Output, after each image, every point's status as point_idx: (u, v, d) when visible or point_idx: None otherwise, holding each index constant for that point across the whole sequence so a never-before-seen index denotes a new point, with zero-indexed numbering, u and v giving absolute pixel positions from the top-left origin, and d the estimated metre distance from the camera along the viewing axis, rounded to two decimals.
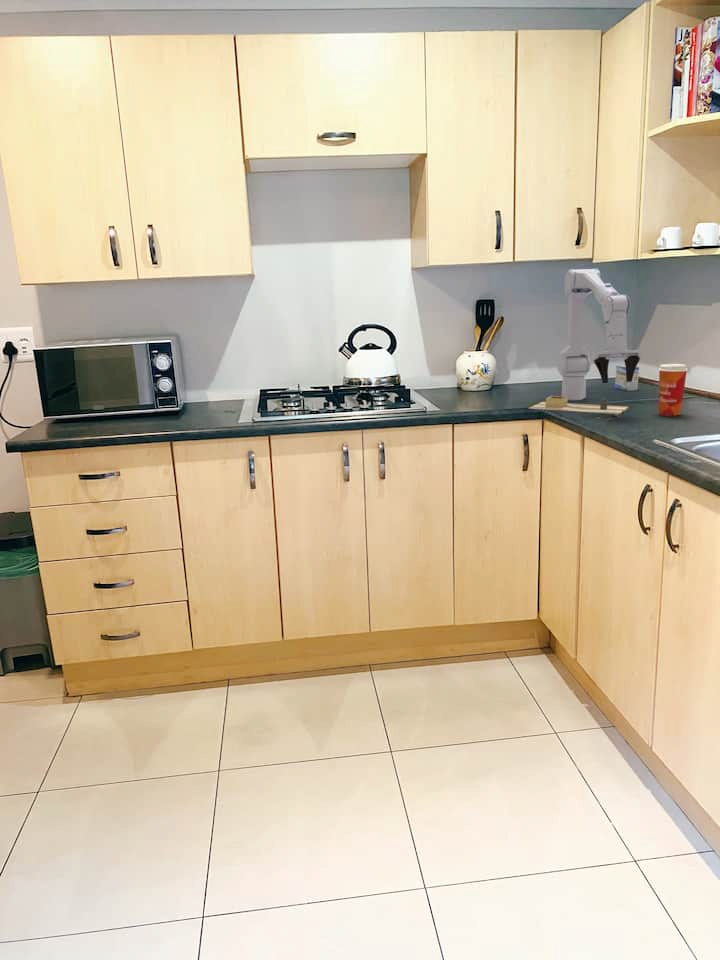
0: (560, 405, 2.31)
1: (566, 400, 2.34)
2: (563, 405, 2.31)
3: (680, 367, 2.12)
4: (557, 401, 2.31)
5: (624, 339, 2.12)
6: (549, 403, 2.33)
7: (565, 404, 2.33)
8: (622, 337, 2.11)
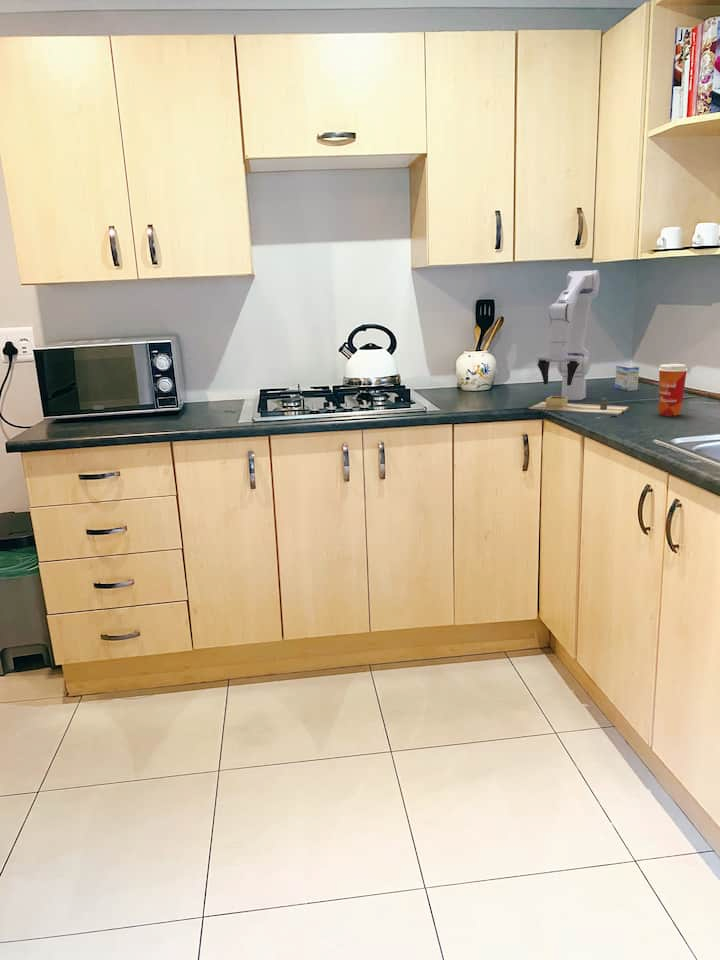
0: (560, 405, 2.31)
1: (566, 400, 2.34)
2: (563, 405, 2.31)
3: (680, 367, 2.12)
4: (557, 401, 2.31)
5: (560, 346, 2.27)
6: (549, 403, 2.33)
7: (565, 404, 2.33)
8: (557, 344, 2.27)
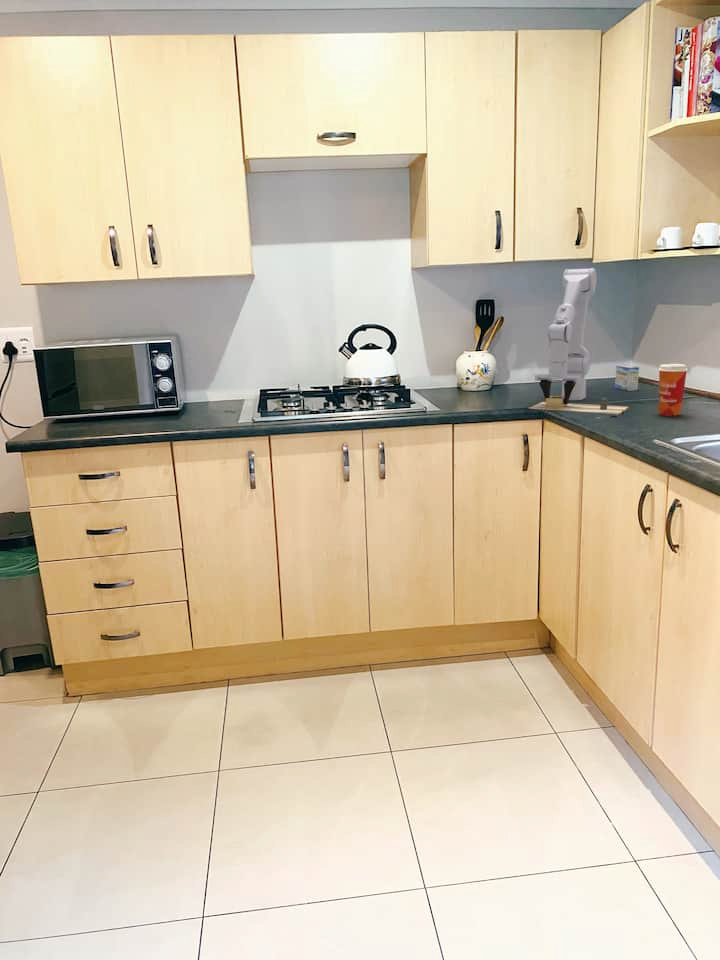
0: (560, 405, 2.31)
1: None
2: (563, 405, 2.31)
3: (680, 367, 2.12)
4: (557, 401, 2.31)
5: (559, 366, 2.28)
6: (549, 403, 2.33)
7: None
8: (557, 364, 2.28)
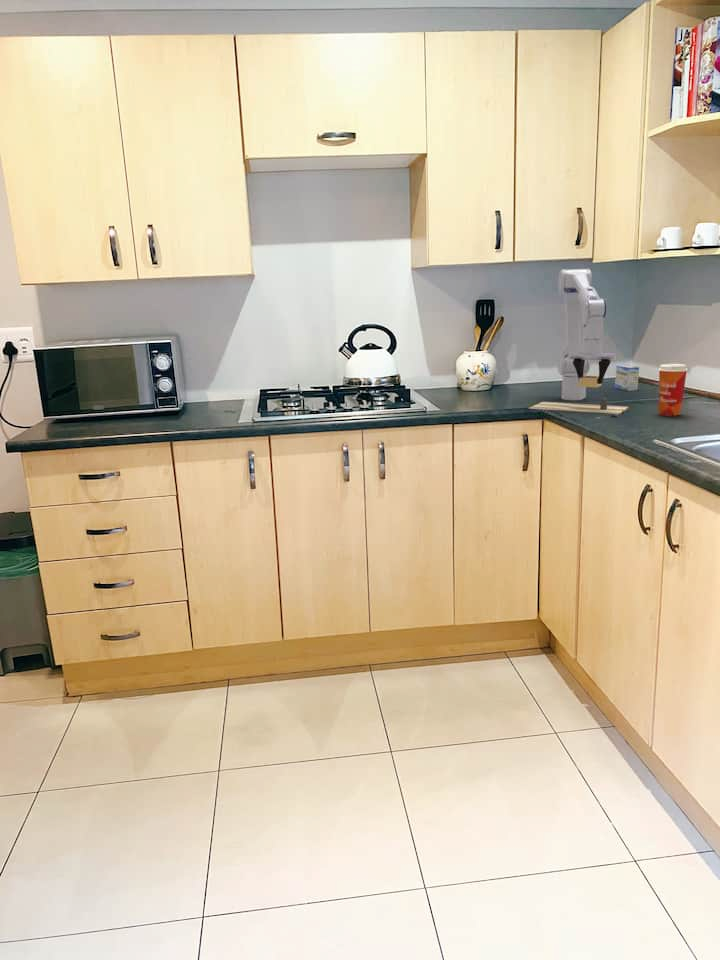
0: (594, 385, 2.23)
1: None
2: (597, 384, 2.24)
3: (680, 367, 2.12)
4: (591, 380, 2.23)
5: (594, 343, 2.21)
6: (583, 383, 2.25)
7: (599, 384, 2.25)
8: (591, 342, 2.21)
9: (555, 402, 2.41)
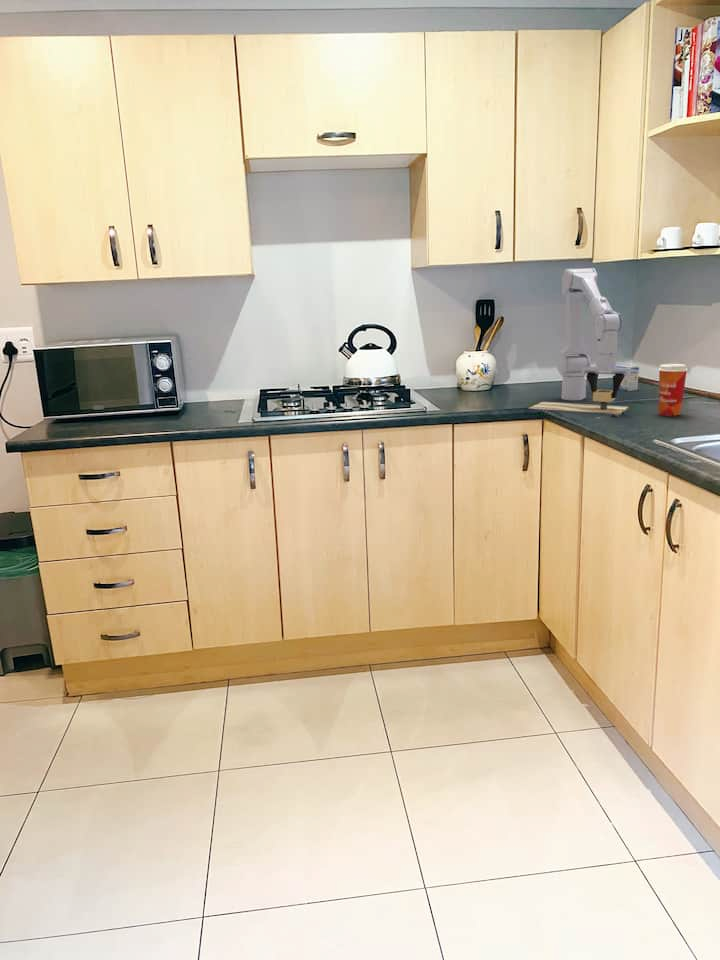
0: (608, 399, 2.22)
1: None
2: (611, 399, 2.22)
3: (680, 367, 2.12)
4: (605, 395, 2.22)
5: (608, 358, 2.20)
6: (596, 397, 2.24)
7: (613, 398, 2.24)
8: (605, 356, 2.20)
9: (555, 402, 2.41)
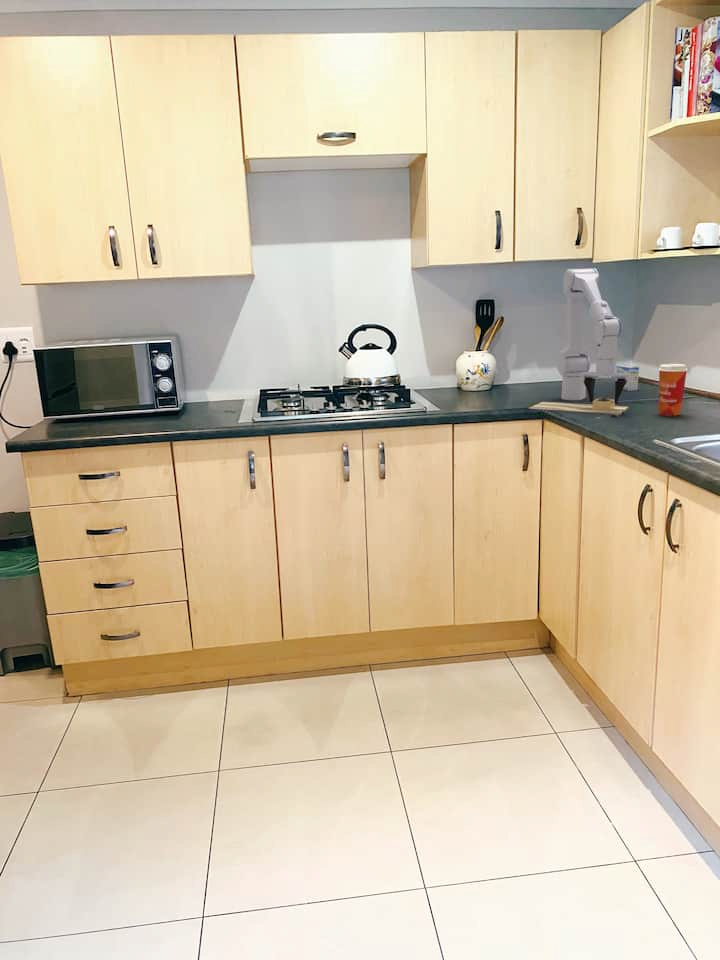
0: (608, 408, 2.23)
1: (613, 403, 2.25)
2: (611, 408, 2.23)
3: (680, 367, 2.12)
4: (604, 404, 2.23)
5: (608, 363, 2.20)
6: (596, 406, 2.25)
7: (612, 407, 2.25)
8: (605, 361, 2.20)
9: (555, 402, 2.41)
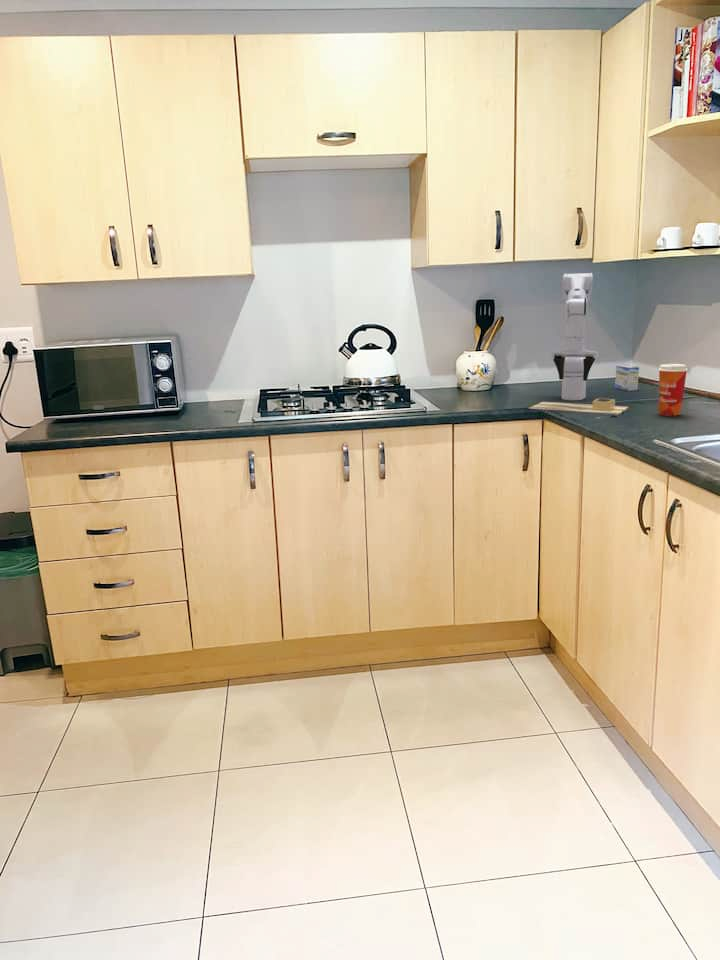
0: (608, 408, 2.23)
1: (613, 403, 2.25)
2: (611, 408, 2.23)
3: (680, 367, 2.12)
4: (604, 404, 2.23)
5: (576, 341, 2.26)
6: (596, 406, 2.25)
7: (612, 407, 2.25)
8: (574, 339, 2.26)
9: (555, 402, 2.41)
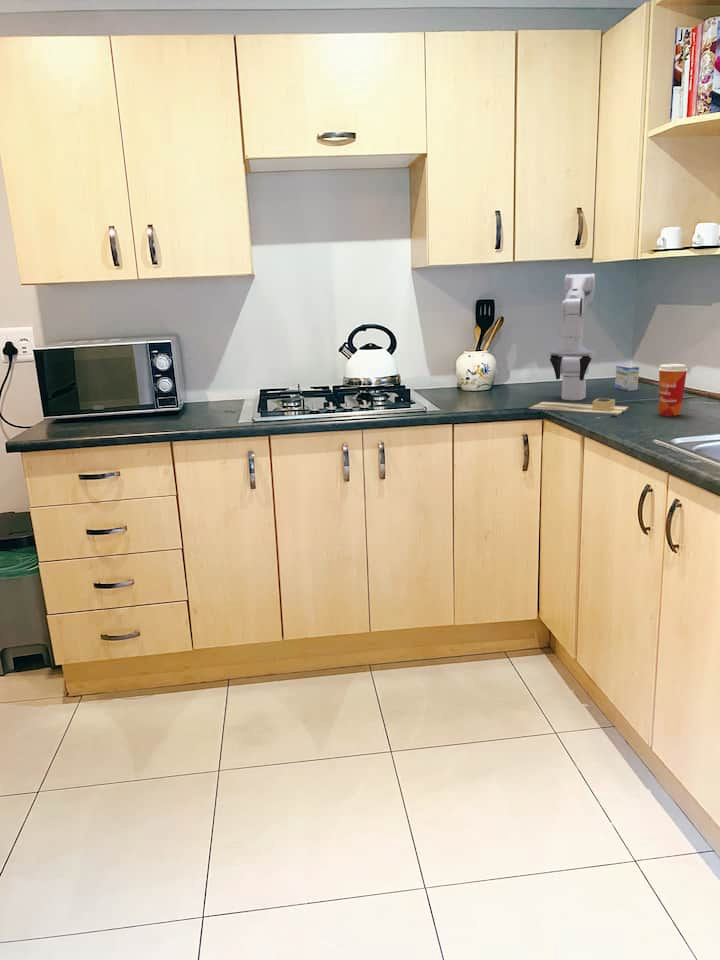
0: (608, 408, 2.23)
1: (613, 403, 2.25)
2: (611, 408, 2.23)
3: (680, 367, 2.12)
4: (604, 404, 2.23)
5: (572, 341, 2.27)
6: (596, 406, 2.25)
7: (612, 407, 2.25)
8: (570, 339, 2.27)
9: (555, 402, 2.41)
